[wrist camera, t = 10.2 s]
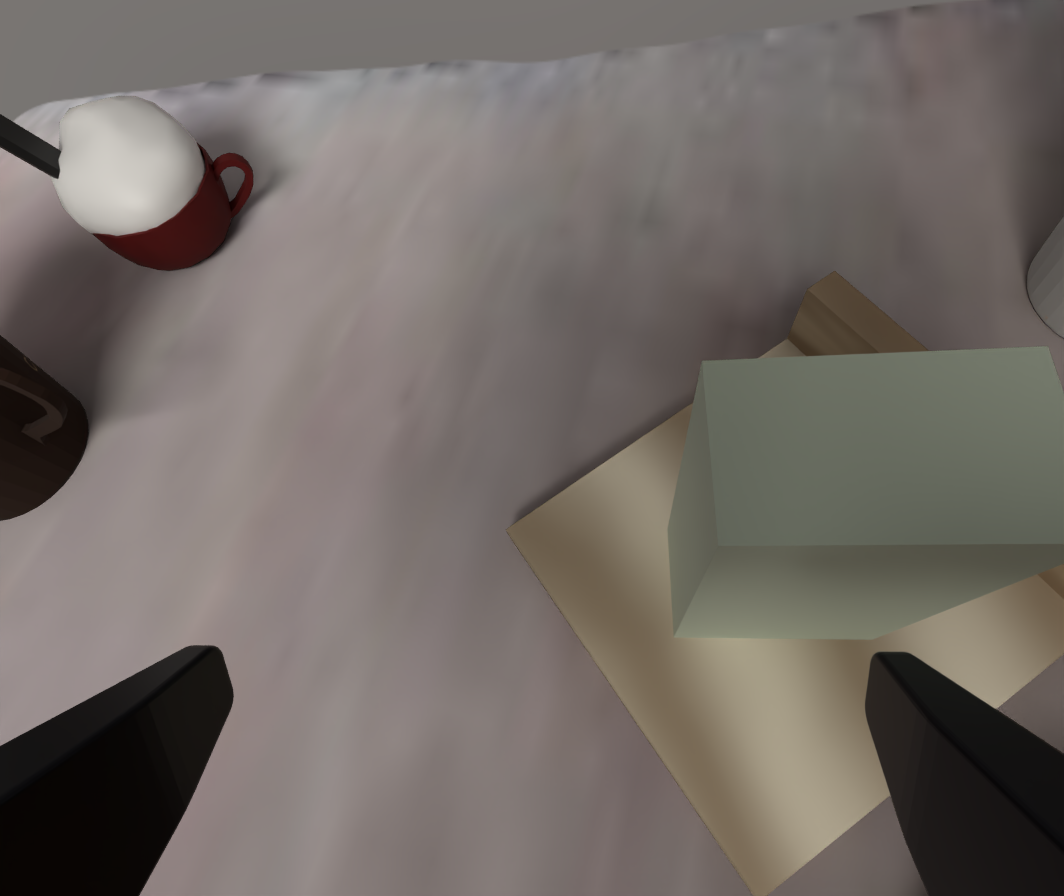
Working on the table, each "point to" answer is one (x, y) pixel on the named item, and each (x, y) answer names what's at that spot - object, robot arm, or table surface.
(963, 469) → the sage green box
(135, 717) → the robot arm
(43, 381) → the coffee mug
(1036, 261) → the coffee cup
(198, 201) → the cocoa
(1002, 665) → the ledge board
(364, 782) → the table surface
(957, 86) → the table surface
